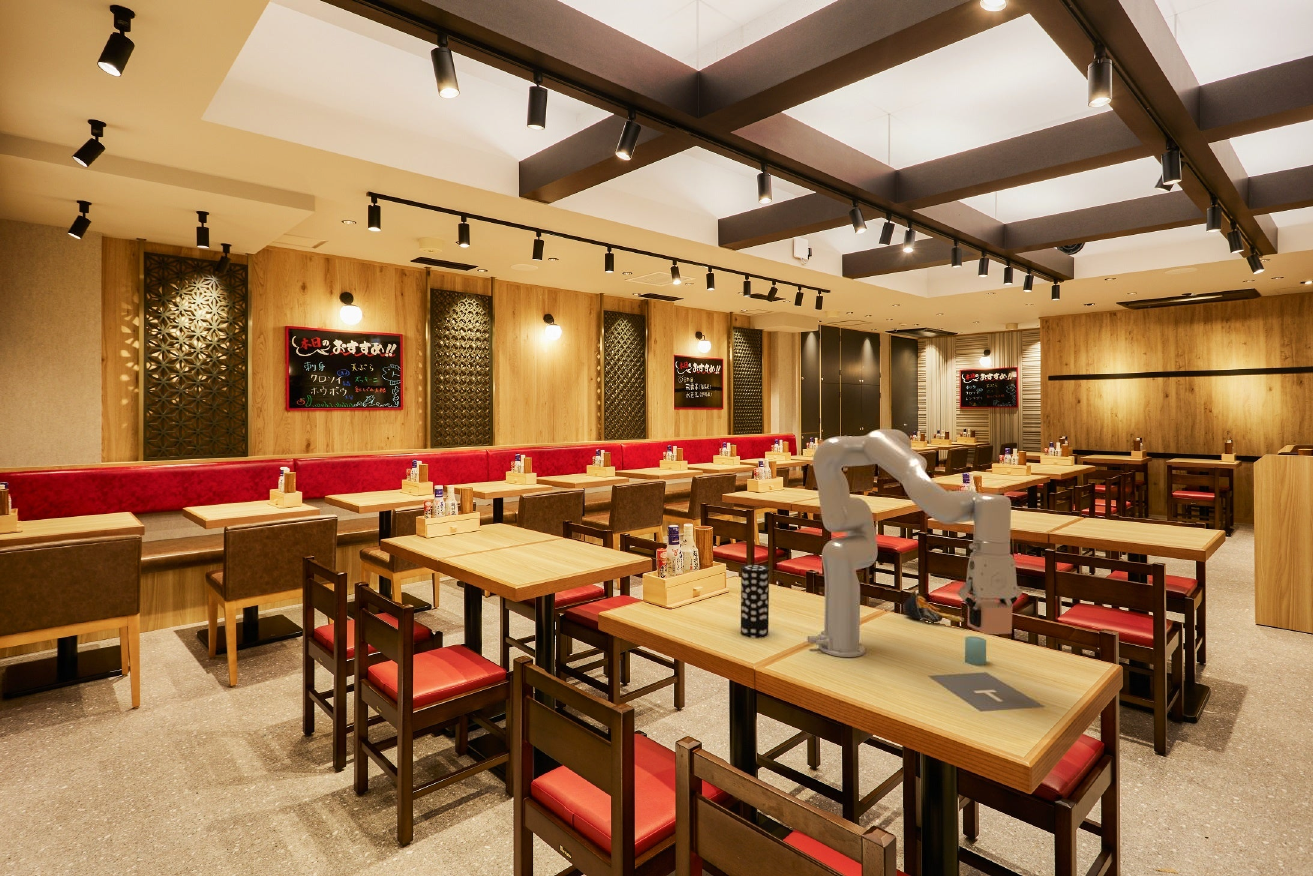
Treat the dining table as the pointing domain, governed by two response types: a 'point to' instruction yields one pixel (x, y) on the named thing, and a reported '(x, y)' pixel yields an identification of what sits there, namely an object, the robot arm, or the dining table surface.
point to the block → (994, 618)
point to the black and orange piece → (925, 610)
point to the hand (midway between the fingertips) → (989, 624)
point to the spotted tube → (754, 601)
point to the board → (985, 692)
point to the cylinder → (975, 650)
